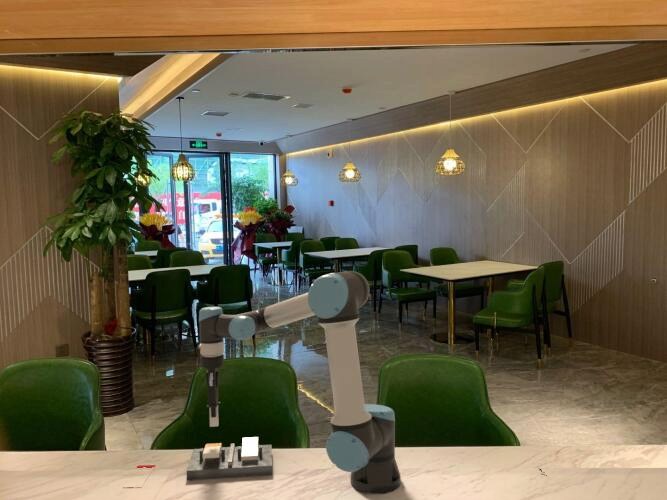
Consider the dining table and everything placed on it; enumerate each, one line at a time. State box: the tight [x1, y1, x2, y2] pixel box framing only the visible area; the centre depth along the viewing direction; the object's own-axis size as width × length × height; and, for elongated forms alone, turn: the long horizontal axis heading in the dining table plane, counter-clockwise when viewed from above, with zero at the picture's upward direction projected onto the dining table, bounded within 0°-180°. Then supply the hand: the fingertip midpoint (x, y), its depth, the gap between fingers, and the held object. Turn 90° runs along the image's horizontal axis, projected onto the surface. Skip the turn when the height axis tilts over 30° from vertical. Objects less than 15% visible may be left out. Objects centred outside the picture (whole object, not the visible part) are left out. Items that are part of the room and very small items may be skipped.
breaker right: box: [241, 436, 259, 461], centre depth 173 cm, size 10×5×2 cm, turn 7°
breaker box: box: [186, 443, 273, 481], centre depth 172 cm, size 16×26×6 cm, turn 97°
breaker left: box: [203, 442, 223, 458], centre depth 171 cm, size 10×5×2 cm, turn 7°
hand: (214, 425), depth 175 cm, fingers closed
